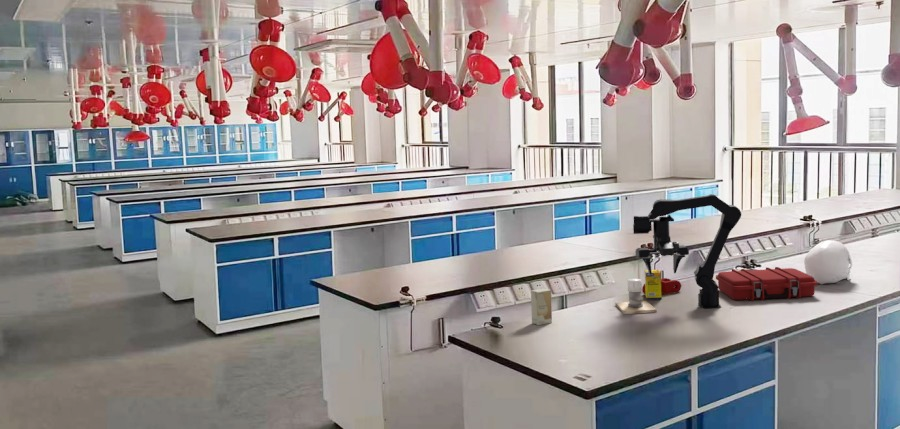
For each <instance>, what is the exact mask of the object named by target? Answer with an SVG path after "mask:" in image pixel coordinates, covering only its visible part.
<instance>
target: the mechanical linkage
mask: <svg viewBox="0 0 900 429" xmlns="http://www.w3.org/2000/svg"><path fill="white" fill-rule="evenodd" d="M681 288H682V284H681V282H680V281H678V280H676V279H672V280H671V279H670V278H667V277H664V278H662V277H661V294H663V293H664V295H669V294H668V293H670V294H675V293H679V292H680V291H681ZM641 292H642V293H643V294H644V295H645V283H644V284H642V291H641ZM674 292H675V293H674Z"/></svg>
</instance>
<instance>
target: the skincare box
mask: <svg viewBox="0 0 900 429" xmlns="http://www.w3.org/2000/svg"><path fill="white" fill-rule="evenodd" d="M530 298H531V299H530V300H531V302H530V303H531V304H530V305H531V306H530V308H531V323H532V324H534V325H537V326H540V325H541V326H542V325H547V324H551V323H552V322H553V318H552V317H553V316H552V315H553V312H552V289H549V288H536V289H533V290H530Z"/></svg>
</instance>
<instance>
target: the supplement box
mask: <svg viewBox="0 0 900 429" xmlns="http://www.w3.org/2000/svg"><path fill="white" fill-rule="evenodd" d="M651 271H652V272H651V275H650V274H649V271H648V269H645V270H644V284H645V294H644V295H645V299H646V301H647V300H648V301H649V300H654V301H655V300H662V293H661V279H662V273H661V270H660V269H651Z"/></svg>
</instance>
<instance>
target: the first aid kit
mask: <svg viewBox="0 0 900 429" xmlns="http://www.w3.org/2000/svg"><path fill="white" fill-rule="evenodd" d="M715 280H716V281H717V283H718V284H717V285H718V290H719V292H722V293H723V294H725V295H726V296H728V297H729V298H730V299H732V300H733V301H734V300H736V301H742V300H744V301H745V300H750V301H752V302H754V301H755V300H761V301H764V300H765V299H780V298H781V299H782V298H786V299H787V300H791V298H797V299H798V300H799V299H801V298H802V297H812V296H814V295H815V292H816V291H815V287H817V286H818V284H819V283H818V282H817V281H815V280H814V278H813V277H812V276H810V275H808V274H806V272H803V271H800V270H798V269H796V268H792V267H789V268H787V267H786V268H781V267H779V266H775V267H774V268H770V267H765V269H752V270H750V269H749V270H747V269H745V268H741V270H736V269H734V268H733V269H732V270H731V271H721V272H718V274H717V275H715Z"/></svg>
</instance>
